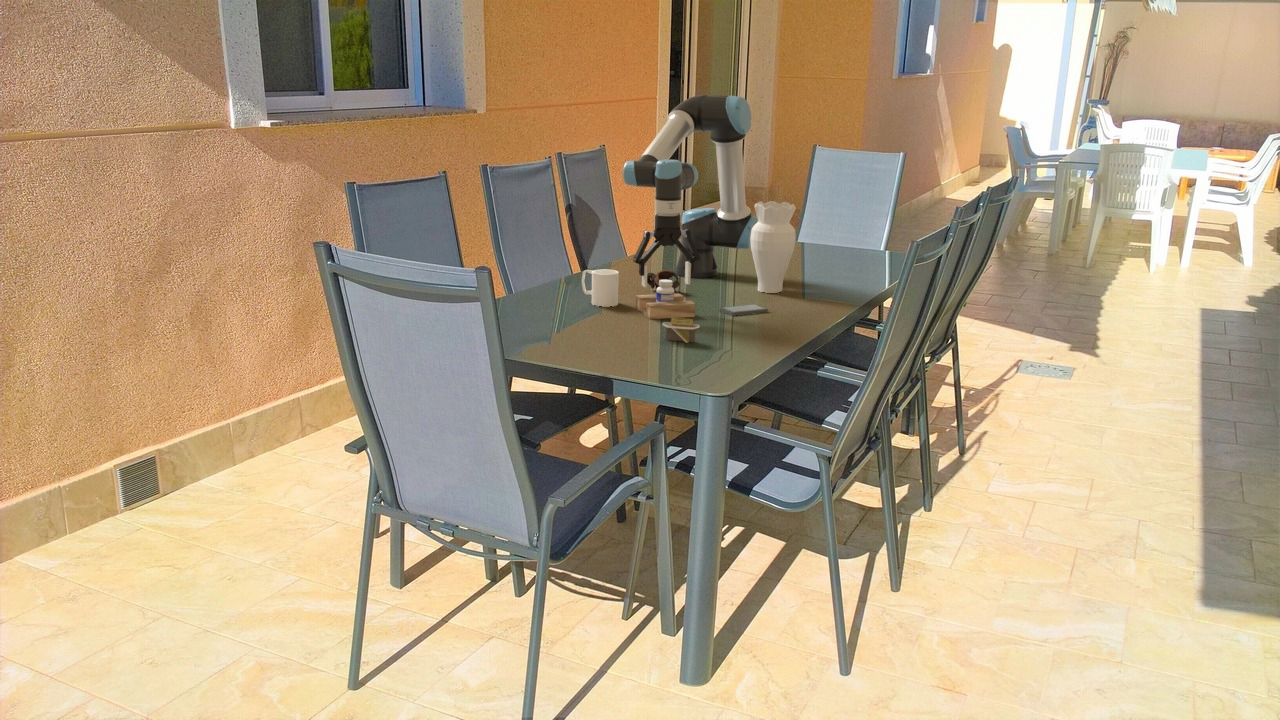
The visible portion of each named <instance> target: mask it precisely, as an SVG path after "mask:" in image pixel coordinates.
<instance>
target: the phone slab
mask: <svg viewBox="0 0 1280 720" xmlns="http://www.w3.org/2000/svg"><path fill="white" fill-rule="evenodd" d="M765 311H768V312H769V308H767V307H764V306H761V305H759V304H756V303H755V304H753V303H752V304H743V305H734V306H723V307H719V312H720V313H723V314H727V315H728V316H730V315H731V317H733V316H734V317H735V316H736V315H737V316H744V314H746V315H753V314H752V313H756V314H760V313H759V312H765ZM765 313H766V312H765Z"/></svg>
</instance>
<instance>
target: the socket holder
mask: <svg viewBox="0 0 1280 720" xmlns="http://www.w3.org/2000/svg"><path fill="white" fill-rule="evenodd" d="M635 309H636V310H637V311H638V312H640V313H641V314H642V315H643V316H645V317H646V318H647V319H648V320H656V319H657V320H658V319H672V318H673V319H674V318H680V319H681V318H692V317H693V318H695V317H696V303H695V302H694V301H692V300H684V295H683V294H681V293H674V302H656V293H655V294H638V295H637V294H636V295H635Z"/></svg>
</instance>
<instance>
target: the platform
mask: <svg viewBox="0 0 1280 720" xmlns="http://www.w3.org/2000/svg"><path fill="white" fill-rule="evenodd" d="M693 320H694V319H692V318H691V319H690V318H681V317H680V318H670V322H669V321H663V322H662V326H664V327H665V329H666V330H665V340H666V341H676V342H684V343H687V344H689V342H692V343H695V342H696V329H699V328H700V324H698V323H696V324H695V323H693V322H694V321H693Z"/></svg>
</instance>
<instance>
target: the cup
mask: <svg viewBox="0 0 1280 720" xmlns="http://www.w3.org/2000/svg"><path fill="white" fill-rule="evenodd" d="M586 273H588V274H591V290H587V289H586V284H585V279H586ZM619 274H620V273H619V271H618V270H615V269H610V268H609V269H603V268H602V269H595V270H591V269H590V270H589V269H585V270H583V271H582V274H581V275H582V276H581V286H582V292H583V293H584V294H585V295H591V305H592V306H594V305H596V306H595V307H599V306H602V308H609V307H610V306H612V307H616V306H618V305H619V278H620V277H619V276H620V275H619Z"/></svg>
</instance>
